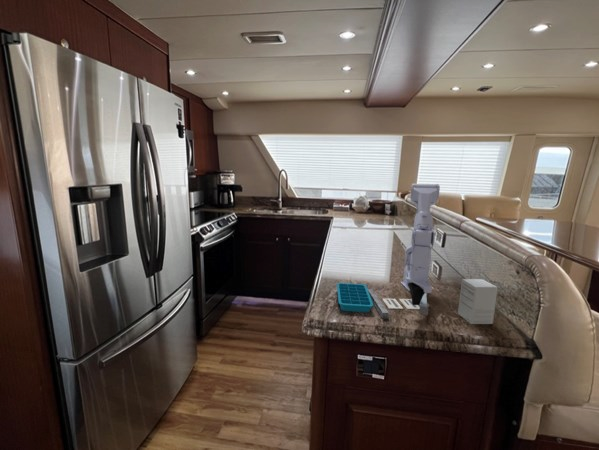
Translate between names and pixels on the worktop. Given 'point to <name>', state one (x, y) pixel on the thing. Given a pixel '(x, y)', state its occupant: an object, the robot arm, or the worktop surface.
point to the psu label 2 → (409, 304)
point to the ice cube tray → (354, 297)
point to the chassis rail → (378, 304)
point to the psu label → (392, 303)
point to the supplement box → (477, 301)
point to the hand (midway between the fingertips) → (415, 304)
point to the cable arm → (423, 305)
